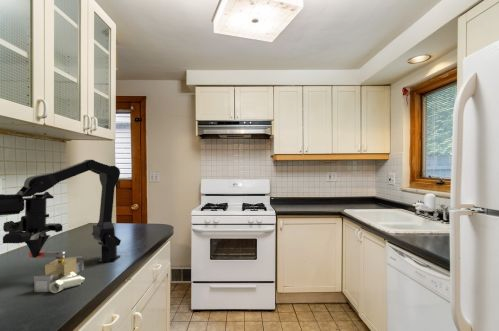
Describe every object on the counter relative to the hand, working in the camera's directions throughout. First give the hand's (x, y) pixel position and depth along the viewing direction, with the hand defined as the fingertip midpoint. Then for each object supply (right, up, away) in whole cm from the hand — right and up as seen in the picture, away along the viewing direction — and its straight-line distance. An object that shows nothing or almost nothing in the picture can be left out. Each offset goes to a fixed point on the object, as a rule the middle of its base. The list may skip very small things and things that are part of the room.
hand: (34, 257), depth 92 cm
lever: (+4, 0, +2) cm, 4 cm away
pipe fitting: (+15, -9, -4) cm, 18 cm away
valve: (+8, -8, +1) cm, 12 cm away
